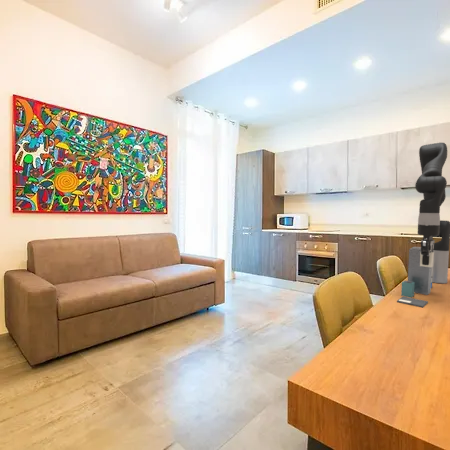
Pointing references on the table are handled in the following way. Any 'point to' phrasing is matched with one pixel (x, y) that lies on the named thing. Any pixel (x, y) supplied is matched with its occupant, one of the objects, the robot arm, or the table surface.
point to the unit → (419, 272)
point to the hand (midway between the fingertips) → (426, 264)
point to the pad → (412, 301)
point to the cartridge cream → (429, 259)
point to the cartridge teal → (407, 288)
